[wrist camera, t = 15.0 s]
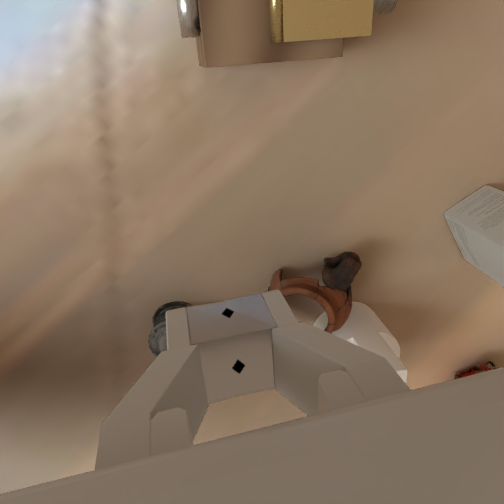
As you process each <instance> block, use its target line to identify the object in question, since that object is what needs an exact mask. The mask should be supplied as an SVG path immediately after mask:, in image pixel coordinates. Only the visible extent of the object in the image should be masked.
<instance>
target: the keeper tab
mask: <svg viewBox="0 0 504 504" xmlns="http://www.w3.org/2000/svg"><path fill="white" fill-rule="evenodd" d="M373 3H374V0H269V14H270V40H271V43H281V42H294V41H308V40H321V39H334V38H348V37H361V36H371V32H372V17H373Z"/></svg>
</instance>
